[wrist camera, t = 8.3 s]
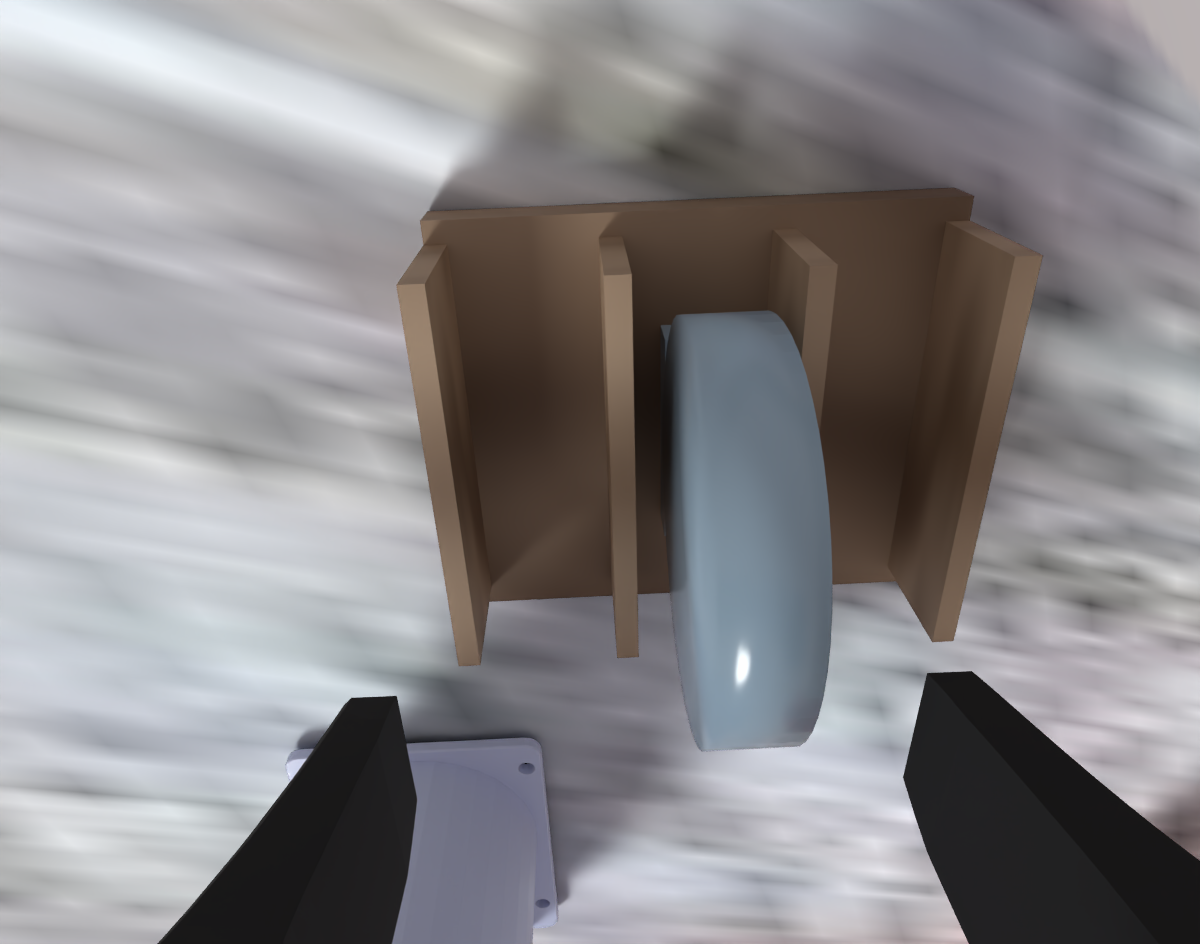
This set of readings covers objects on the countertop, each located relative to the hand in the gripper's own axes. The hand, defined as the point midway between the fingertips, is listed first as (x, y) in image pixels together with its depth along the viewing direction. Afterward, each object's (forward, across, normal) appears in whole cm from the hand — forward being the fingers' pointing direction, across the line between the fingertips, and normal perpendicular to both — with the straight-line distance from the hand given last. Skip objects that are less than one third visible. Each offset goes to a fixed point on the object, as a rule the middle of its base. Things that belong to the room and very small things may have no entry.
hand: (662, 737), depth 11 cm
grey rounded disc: (+9, -2, 0) cm, 9 cm away
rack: (+10, -2, 0) cm, 10 cm away
